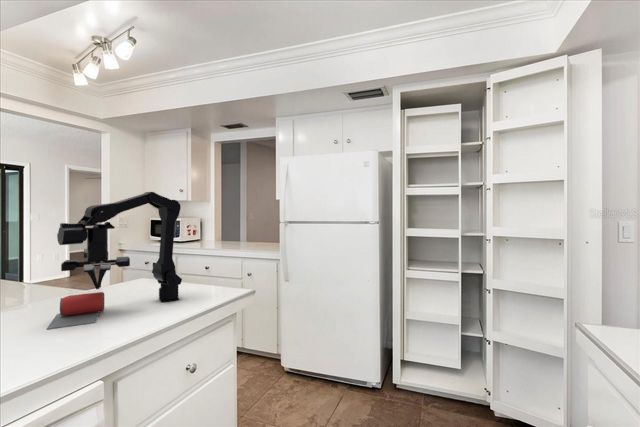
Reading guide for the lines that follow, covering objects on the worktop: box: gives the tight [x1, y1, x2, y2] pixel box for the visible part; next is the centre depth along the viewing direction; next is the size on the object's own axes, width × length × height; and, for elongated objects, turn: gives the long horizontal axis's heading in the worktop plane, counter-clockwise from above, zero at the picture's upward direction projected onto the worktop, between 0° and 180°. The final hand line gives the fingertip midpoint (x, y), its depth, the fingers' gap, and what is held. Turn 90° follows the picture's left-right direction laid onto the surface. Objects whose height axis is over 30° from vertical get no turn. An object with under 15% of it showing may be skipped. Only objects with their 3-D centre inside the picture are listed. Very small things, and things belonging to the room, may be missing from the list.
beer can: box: [59, 291, 105, 316], centre depth 111 cm, size 7×7×12 cm
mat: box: [46, 312, 100, 331], centre depth 107 cm, size 12×16×1 cm
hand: (97, 289), depth 110 cm, fingers closed
